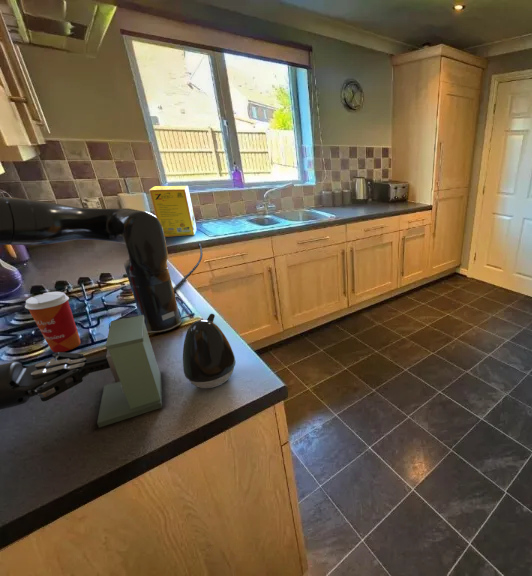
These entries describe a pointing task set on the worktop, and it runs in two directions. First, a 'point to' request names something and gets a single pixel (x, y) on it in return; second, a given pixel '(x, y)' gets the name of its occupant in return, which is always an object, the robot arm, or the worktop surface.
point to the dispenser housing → (130, 373)
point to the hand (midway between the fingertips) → (112, 360)
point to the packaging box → (173, 210)
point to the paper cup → (54, 320)
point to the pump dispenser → (207, 355)
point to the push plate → (112, 367)
